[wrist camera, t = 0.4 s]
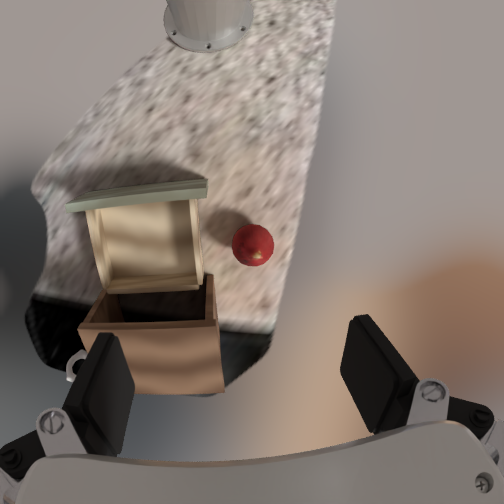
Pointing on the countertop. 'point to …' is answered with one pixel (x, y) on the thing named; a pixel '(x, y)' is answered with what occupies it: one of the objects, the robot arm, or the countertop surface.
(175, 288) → the drawer
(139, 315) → the countertop surface
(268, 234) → the onion
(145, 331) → the cabinet
